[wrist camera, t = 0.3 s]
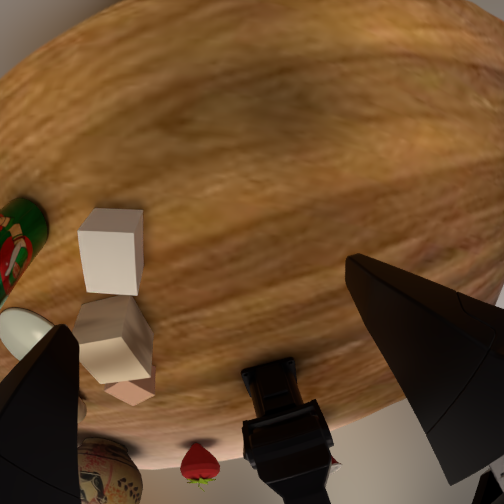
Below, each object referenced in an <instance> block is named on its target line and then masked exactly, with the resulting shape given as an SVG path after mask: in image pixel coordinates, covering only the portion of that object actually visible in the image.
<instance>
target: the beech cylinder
mask: <svg viewBox="0 0 504 504" xmlns="http://www.w3.org/2000/svg"><path fill="white" fill-rule="evenodd" d="M86 413H87V408H86V405H85V403H84V402H83V401H82V400H81V399H80V397H79V401H78V423H79V422H81V421H82V420H83V419H84V418H85V416H86Z"/></svg>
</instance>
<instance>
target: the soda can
mask: <svg viewBox="0 0 504 504" xmlns="http://www.w3.org/2000/svg"><path fill="white" fill-rule="evenodd" d="M46 239H47V225H46V221H45V219H44V216H43V214H42V212H41V211H40V209H39V208H38V207H37V206H36V205H35V204H34V203H32V202H31V201H29V200H27V199H23V198H17V199H14V200H12V201H11V202H9V203H8V204H7V205H5V206H4V207H3V208H2V209H0V309H1V307H2V306H3V304H4V302H5V301H6V299H7V297H8V296H9V294H10V293H11V291H12V290H13V288H14V287H15V285H16V284H17V282H18V281H19V279H20V278H21V276H22V275H23V273H24V272H25V271H26V269H27V268H28V266H29V265H30V264H31V262H32V261H33V260H34V258H35V257H36V255H37V254H38V253H39V252H40V250H41V249H42V248H43V246H44V245H45V243H46Z"/></svg>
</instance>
